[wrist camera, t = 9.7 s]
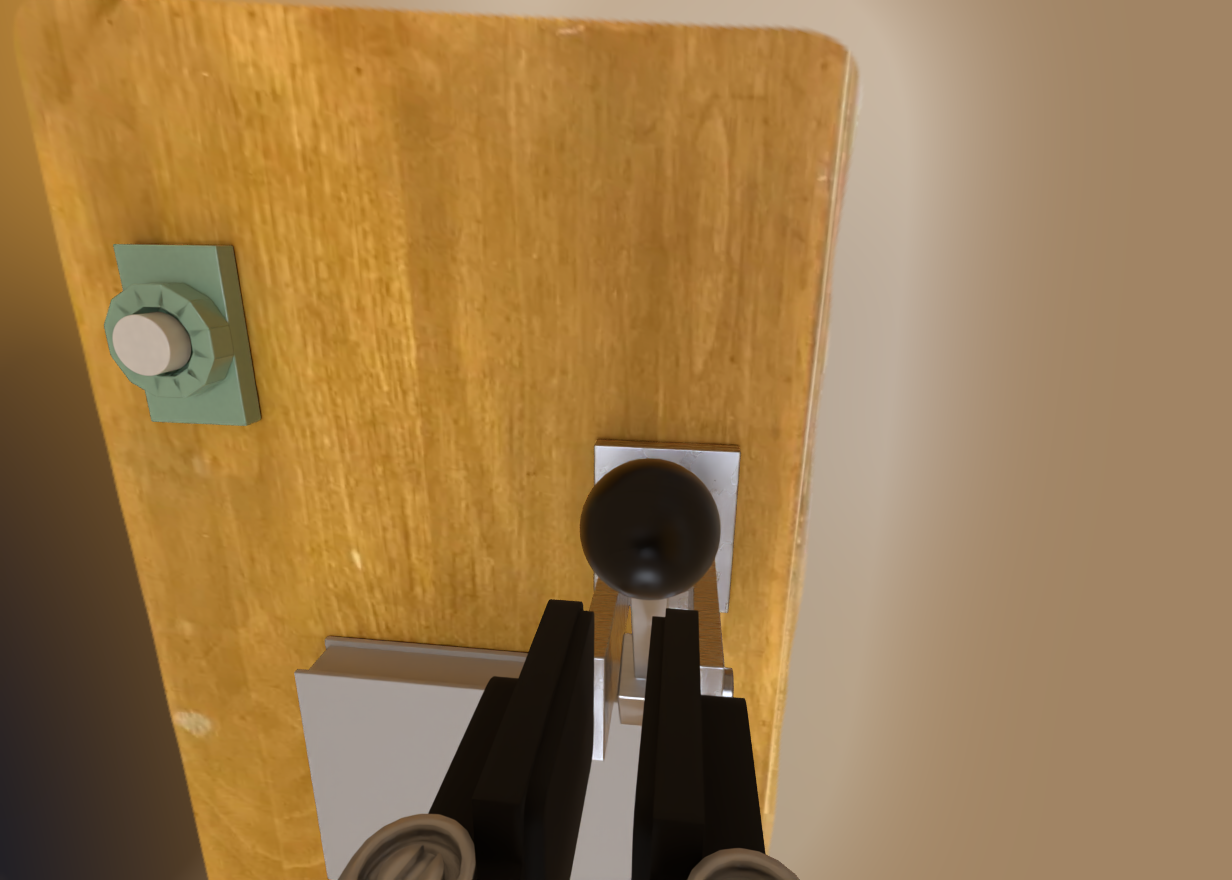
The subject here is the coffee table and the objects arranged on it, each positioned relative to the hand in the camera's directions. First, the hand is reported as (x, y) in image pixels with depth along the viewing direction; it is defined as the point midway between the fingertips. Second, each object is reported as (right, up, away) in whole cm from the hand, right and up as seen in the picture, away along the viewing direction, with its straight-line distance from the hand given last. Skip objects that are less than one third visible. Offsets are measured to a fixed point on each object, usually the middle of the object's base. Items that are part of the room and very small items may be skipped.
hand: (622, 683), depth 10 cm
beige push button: (-25, +9, +23) cm, 35 cm away
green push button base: (-24, +10, +26) cm, 37 cm away
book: (-8, -18, +33) cm, 39 cm away
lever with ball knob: (+1, 0, +10) cm, 10 cm away
